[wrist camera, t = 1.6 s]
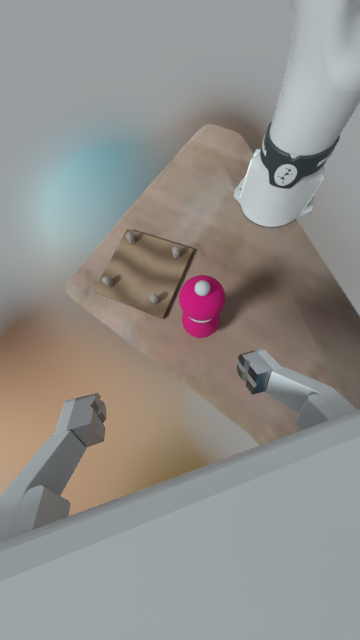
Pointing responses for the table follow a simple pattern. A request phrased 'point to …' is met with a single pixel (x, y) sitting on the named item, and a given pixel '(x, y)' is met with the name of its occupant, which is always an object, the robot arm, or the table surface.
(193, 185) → the table surface
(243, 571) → the robot arm
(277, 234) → the table surface
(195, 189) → the table surface
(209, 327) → the pepper mill
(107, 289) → the pin base
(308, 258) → the table surface
